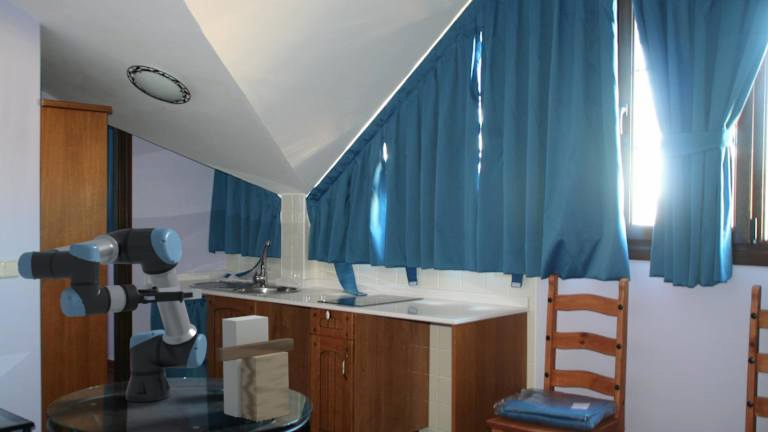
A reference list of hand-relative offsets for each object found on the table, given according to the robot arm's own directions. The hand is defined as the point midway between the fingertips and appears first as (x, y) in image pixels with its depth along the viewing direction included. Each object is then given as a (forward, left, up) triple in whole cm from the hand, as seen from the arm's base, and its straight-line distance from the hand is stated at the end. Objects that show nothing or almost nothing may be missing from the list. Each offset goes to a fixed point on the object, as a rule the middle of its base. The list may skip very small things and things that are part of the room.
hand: (189, 292), depth 218 cm
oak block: (+7, +22, -40) cm, 46 cm away
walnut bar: (+7, +19, -20) cm, 29 cm away
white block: (-2, +21, -40) cm, 45 cm away
